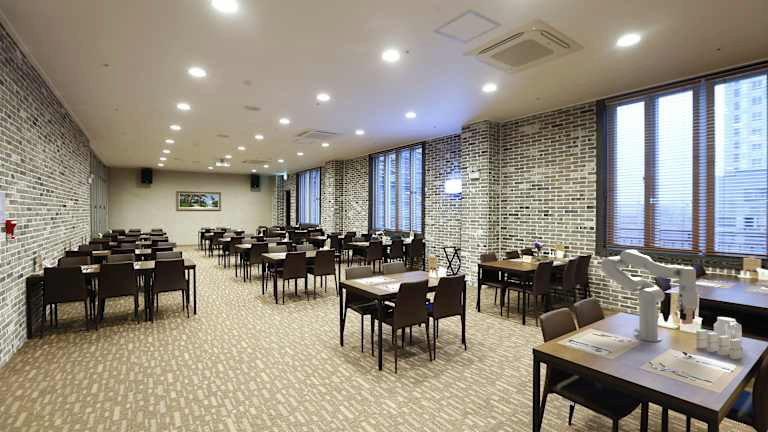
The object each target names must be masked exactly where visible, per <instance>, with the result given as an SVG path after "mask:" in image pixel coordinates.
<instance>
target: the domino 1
mask: <svg viewBox="0 0 768 432" xmlns="http://www.w3.org/2000/svg"><path fill="white" fill-rule="evenodd" d="M682 307H683V306H682ZM683 308H684V307H683ZM683 310H684V309H683ZM685 313H686V320H681V324H683V325H691V324H693V323H694V319H693V309H686V312H685Z"/></svg>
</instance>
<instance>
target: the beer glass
mask: <svg viewBox="0 0 768 432" xmlns="http://www.w3.org/2000/svg"><path fill="white" fill-rule="evenodd" d="M742 329H743V328H742V324H741V323H738V322H736V323H734V322H726V325H725V333H726V336H729V351H730V340H731V339H741V340H742V336H743V335H742V334H743V333H742V331H743V330H742Z"/></svg>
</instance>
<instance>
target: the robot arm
mask: <svg viewBox="0 0 768 432" xmlns="http://www.w3.org/2000/svg"><path fill="white" fill-rule="evenodd" d="M600 265H601V266H600V268H601V270H602V272H603V273H604V274H605V276H607V278H609V279H610V280H611V281H614V282H615V283H616V284H618V285H619V286H621V287H622V288H623V289H625V290H626V291H627V292H630V293H637V302H638V313H639V315H638V317H639V318H638V320H639V321H638V327H636V328H634V330H633V331H634V332H635V333H637V334H636V336H635V337H636V338H637V339H639V340H642V341H646V342H653V343H654V342H656V343H658V342H661V341H662V339H661V337H659V314H658V313H659V311H658V307H657V303H661V302H662V301H664V300H665V298H666V297H665V295H666V294H665V293H664V290H662V289H661V288H660V287H658V285H656V284H653V283H652V282H650V281H648V279H645V278H643V277H640V276H636V277H635V276H634V277H633V276H631V275H629V274H628V273H626V272H625V271H623V270H621V269H622V268H626V267H629V266H630V265H632V266H634V267H637V268H639V269H642V270H644V271H645V272H648V273H649V274H651V275H654V276H657V277H660V278H663V279H673V278H674V279H675V278H678V295H677V305H676V308H677V310H678V313H679V319H680V320H681V321H682V320H686V313H685V312H686V309H693V320H695V319H696V317H695V316H696V311H697V309H698V307H699V299H698V293H697V287H696V286H697V284H696V283H697V277H696V276H697V271H696V268H694V267H691V266H681V265H676V264H671V265H670V264H669V265H665V264H661V263H658V262H657V261H653V260H652V257H650V256H648V255H644V254H642V253H641V252H640V251H638V250H637V249H626V250H623V251H621V252H620V254H619V255H617V256H608V257H605V258H603V259H602V261H601V262H600ZM682 306H683V307H684V308H683V307H682ZM683 309H684V310H683Z"/></svg>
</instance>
